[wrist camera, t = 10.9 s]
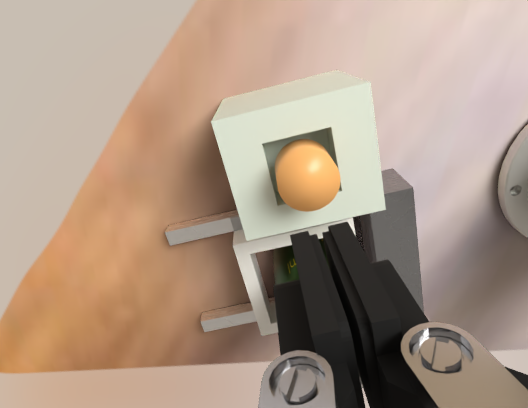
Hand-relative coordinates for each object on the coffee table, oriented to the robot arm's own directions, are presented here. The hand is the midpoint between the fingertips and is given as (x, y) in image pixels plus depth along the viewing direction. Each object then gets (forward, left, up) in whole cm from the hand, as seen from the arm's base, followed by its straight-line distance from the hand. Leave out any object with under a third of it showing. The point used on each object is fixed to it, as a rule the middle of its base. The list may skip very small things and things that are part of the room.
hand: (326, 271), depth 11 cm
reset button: (0, 0, -10) cm, 10 cm away
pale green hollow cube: (0, 0, -18) cm, 18 cm away
